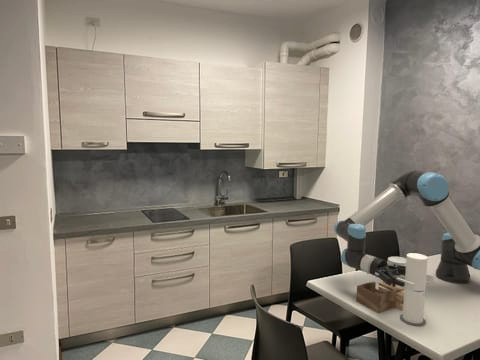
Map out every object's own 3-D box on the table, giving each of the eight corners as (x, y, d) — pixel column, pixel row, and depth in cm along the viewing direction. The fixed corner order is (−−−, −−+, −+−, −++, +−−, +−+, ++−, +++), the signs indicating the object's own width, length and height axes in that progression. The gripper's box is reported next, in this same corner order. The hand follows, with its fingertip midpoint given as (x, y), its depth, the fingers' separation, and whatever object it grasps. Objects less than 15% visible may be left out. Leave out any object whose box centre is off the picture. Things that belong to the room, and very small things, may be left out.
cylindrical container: (398, 315, 139) (402, 254, 137) (412, 313, 142) (417, 252, 139) (412, 324, 133) (416, 260, 130) (427, 321, 135) (432, 258, 132)
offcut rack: (382, 293, 161) (383, 278, 160) (413, 307, 148) (414, 291, 147) (356, 301, 153) (356, 285, 152) (386, 316, 139) (387, 299, 139)
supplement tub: (412, 291, 163) (414, 260, 161) (400, 296, 158) (402, 264, 156) (393, 284, 171) (395, 254, 169) (381, 288, 166) (383, 258, 164)
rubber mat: (417, 314, 142) (417, 312, 142) (430, 325, 133) (430, 324, 133) (395, 314, 141) (395, 313, 141) (407, 326, 132) (407, 325, 132)
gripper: (391, 268, 158) (440, 285, 140) (354, 281, 144) (404, 301, 126) (392, 252, 157) (441, 267, 139) (355, 263, 143) (405, 280, 125)
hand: (423, 283), depth 133 cm, fingers open, 13 cm apart
